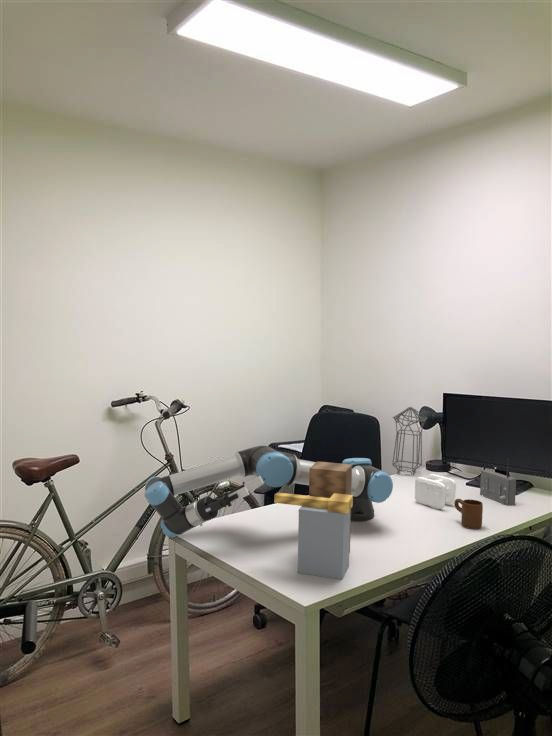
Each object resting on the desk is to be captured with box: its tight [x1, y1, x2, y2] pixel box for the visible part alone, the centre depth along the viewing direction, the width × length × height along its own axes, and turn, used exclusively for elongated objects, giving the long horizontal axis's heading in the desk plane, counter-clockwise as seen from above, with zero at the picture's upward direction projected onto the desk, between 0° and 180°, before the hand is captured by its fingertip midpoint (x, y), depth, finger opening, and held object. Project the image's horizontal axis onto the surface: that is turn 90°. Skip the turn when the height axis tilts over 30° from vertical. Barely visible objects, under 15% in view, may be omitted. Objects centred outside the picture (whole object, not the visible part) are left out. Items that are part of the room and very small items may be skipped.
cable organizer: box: [414, 473, 457, 510], centre depth 250 cm, size 15×11×12 cm
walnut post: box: [308, 461, 352, 554], centre depth 192 cm, size 12×10×30 cm
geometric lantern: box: [391, 406, 428, 476], centre depth 302 cm, size 16×16×35 cm
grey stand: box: [297, 506, 351, 580], centre depth 181 cm, size 14×10×20 cm
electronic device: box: [479, 458, 517, 507], centre depth 258 cm, size 17×7×20 cm, turn 24°
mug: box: [453, 498, 484, 530], centre depth 225 cm, size 12×8×9 cm, turn 34°
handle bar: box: [273, 492, 353, 514], centre depth 181 cm, size 24×8×4 cm, turn 72°
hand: (254, 484), depth 187 cm, fingers open, 13 cm apart
